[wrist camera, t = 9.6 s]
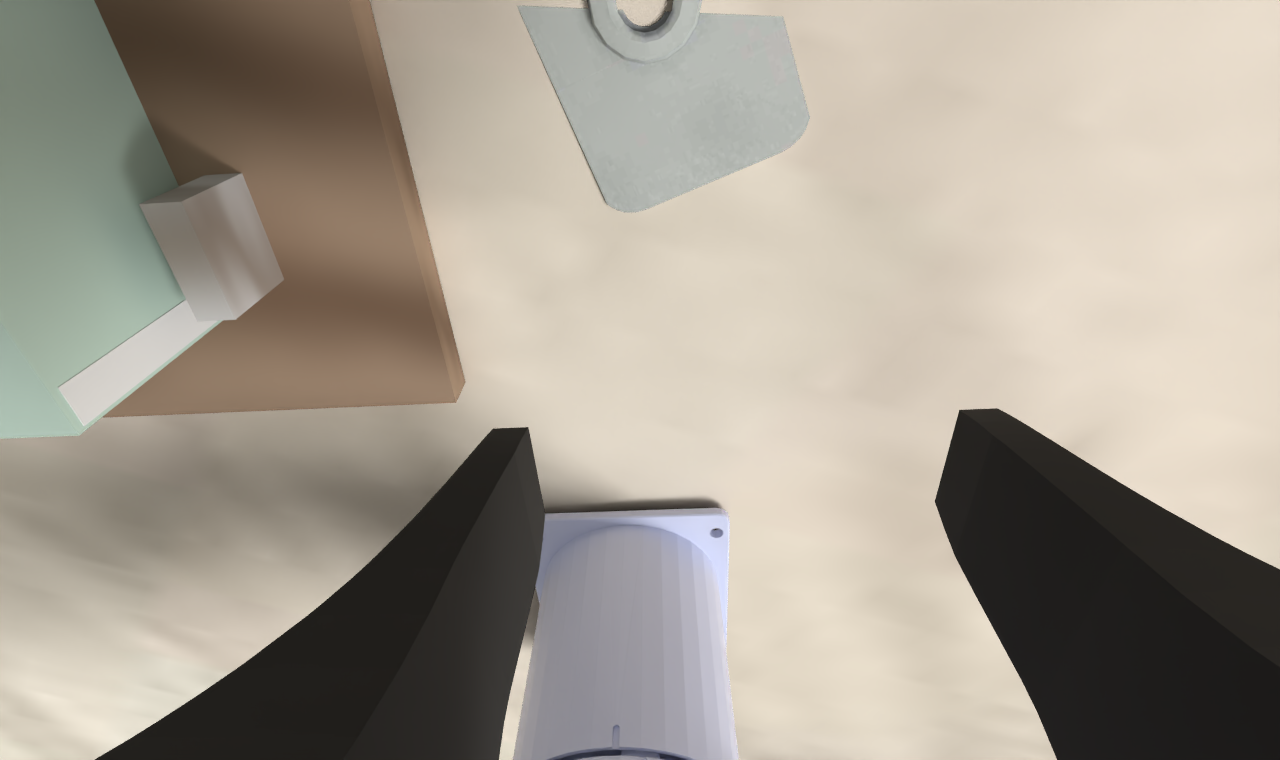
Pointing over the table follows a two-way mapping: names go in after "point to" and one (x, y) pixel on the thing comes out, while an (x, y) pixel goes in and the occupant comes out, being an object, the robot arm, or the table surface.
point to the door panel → (77, 226)
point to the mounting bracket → (670, 94)
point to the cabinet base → (285, 209)
